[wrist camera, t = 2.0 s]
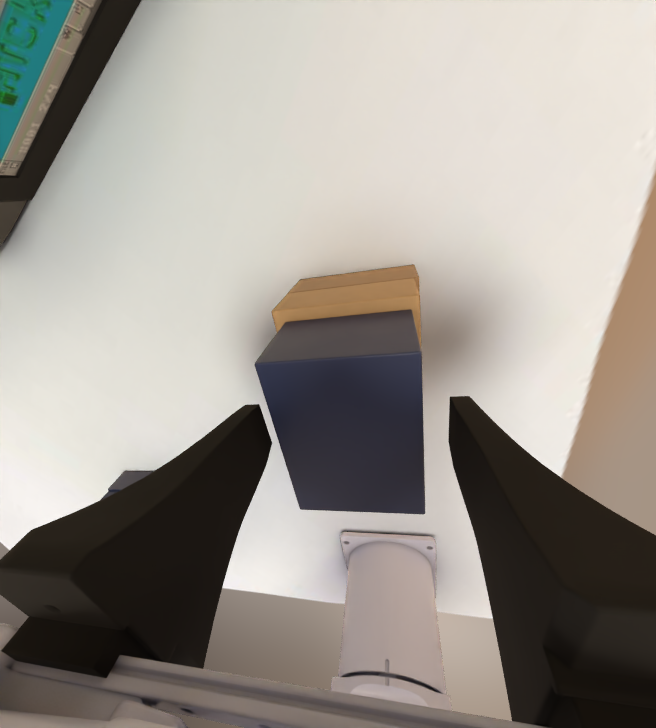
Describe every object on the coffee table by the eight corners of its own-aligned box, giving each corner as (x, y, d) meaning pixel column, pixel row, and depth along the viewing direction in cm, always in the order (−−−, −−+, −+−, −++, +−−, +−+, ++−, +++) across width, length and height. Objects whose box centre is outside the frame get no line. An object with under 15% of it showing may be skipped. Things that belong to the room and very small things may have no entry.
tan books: (418, 395, 19) (427, 455, 15) (324, 399, 20) (308, 455, 16) (414, 264, 15) (426, 294, 11) (299, 279, 17) (270, 311, 12)
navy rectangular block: (417, 448, 15) (425, 515, 12) (315, 448, 16) (299, 510, 13) (412, 308, 11) (421, 351, 8) (284, 321, 12) (253, 363, 9)
